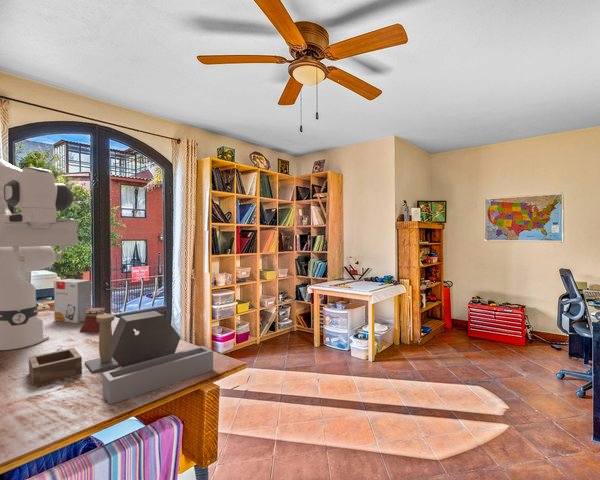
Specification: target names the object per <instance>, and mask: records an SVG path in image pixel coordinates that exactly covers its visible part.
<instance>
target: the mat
mask: <svg viewBox="0 0 600 480" xmlns="http://www.w3.org/2000/svg"><path fill="white" fill-rule="evenodd" d="M100 359H101V358H100V357H99V358H98V357H97V358H95V359H89V360H85V361H84V365H85V366H86V367H87V369H88V370H89V371H90V372H91V374H94V373H98V372H102V371H105V370H107V371H108V370H111V369H114V368H116V367H117V368H119V367H121V366H120V365H119V364H118V363H117V362H116V361H115V360H114V359H113V358H112V360H111V361H110V362H107V363H101V362H100Z"/></svg>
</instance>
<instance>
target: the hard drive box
mask: <svg viewBox="0 0 600 480" xmlns="http://www.w3.org/2000/svg"><path fill="white" fill-rule="evenodd" d="M91 288H92V287H91V280H90V279H77V278H64V279H56V280H53V294H54V295H53V301H54V302H53V306H54V307H53V310H54V313H53V314H54V321H56V322H65V323H72V324H73V323H74V324H81V323H83V322H85V316H86V313H85V312H84V311H86V310H89V309H92V302H91V301H92V292H91V291H92V289H91Z"/></svg>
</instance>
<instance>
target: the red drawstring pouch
mask: <svg viewBox="0 0 600 480" xmlns="http://www.w3.org/2000/svg"><path fill="white" fill-rule="evenodd" d="M105 310H106V307H91V309H89V310H86V311H84V312H85V313H86V316H85V321H83V322H84V324H83V325H82V326H81V327H80V330H79V333H99V332H100V324H99V323H98V322H97V321H96V316H97V315H101V314H105Z"/></svg>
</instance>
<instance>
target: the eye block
mask: <svg viewBox="0 0 600 480" xmlns="http://www.w3.org/2000/svg"><path fill="white" fill-rule="evenodd" d="M82 359H83V357H82V355H81V354H80V353H79V352H78V351H77V350H76V348H75V347H72V348H71V347H70V348H67V349H62V350H57V351H51V352H47V353H43V354H37V355H33V356H28V374H29V378H30V380H31V383H32V386H33V387H34V386H38V385H42V384H46V383H49V382H53V381H57V380H61V379H65V378H68V377H74V376H77V375H81V374H83V363H82V362H83V361H82Z"/></svg>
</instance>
